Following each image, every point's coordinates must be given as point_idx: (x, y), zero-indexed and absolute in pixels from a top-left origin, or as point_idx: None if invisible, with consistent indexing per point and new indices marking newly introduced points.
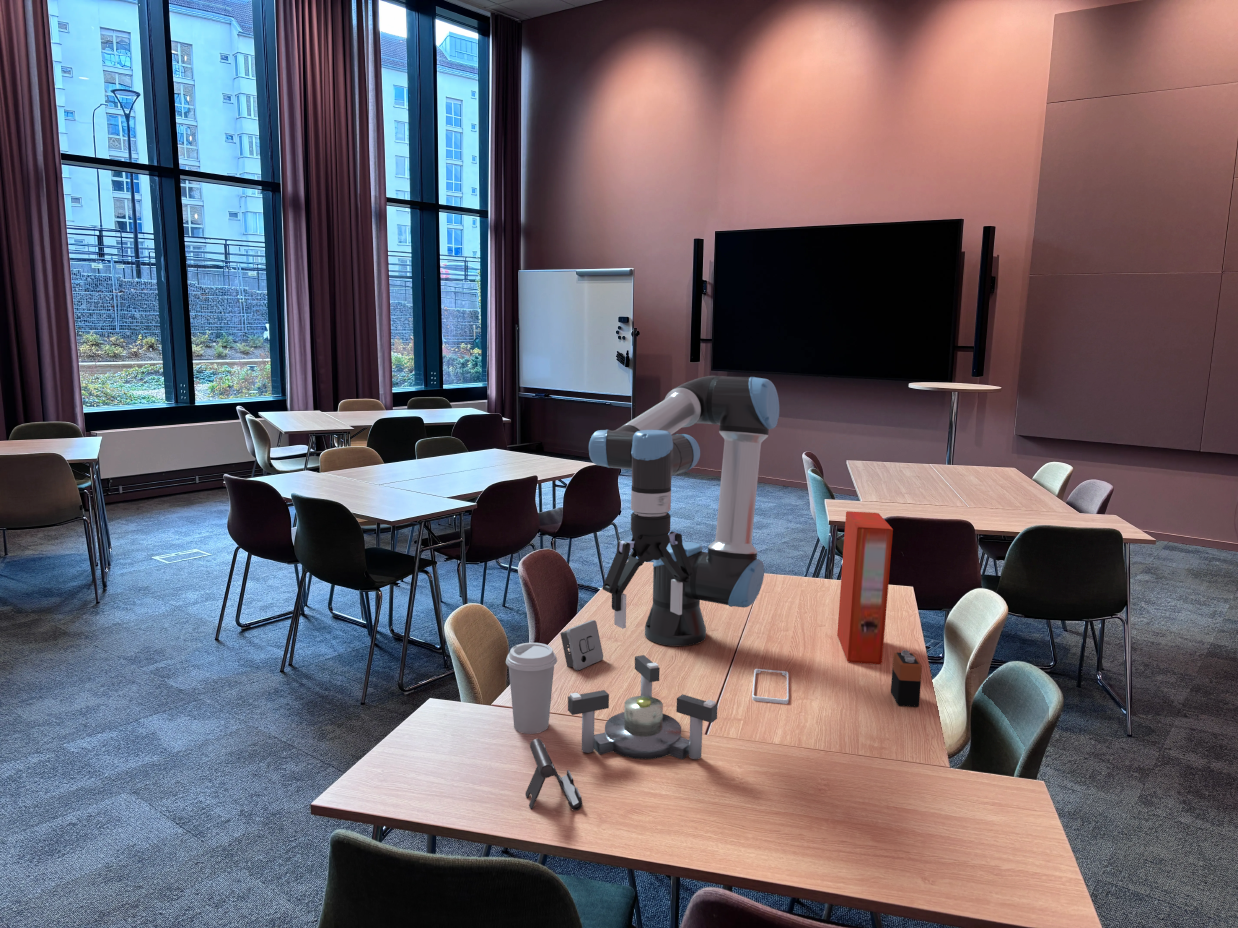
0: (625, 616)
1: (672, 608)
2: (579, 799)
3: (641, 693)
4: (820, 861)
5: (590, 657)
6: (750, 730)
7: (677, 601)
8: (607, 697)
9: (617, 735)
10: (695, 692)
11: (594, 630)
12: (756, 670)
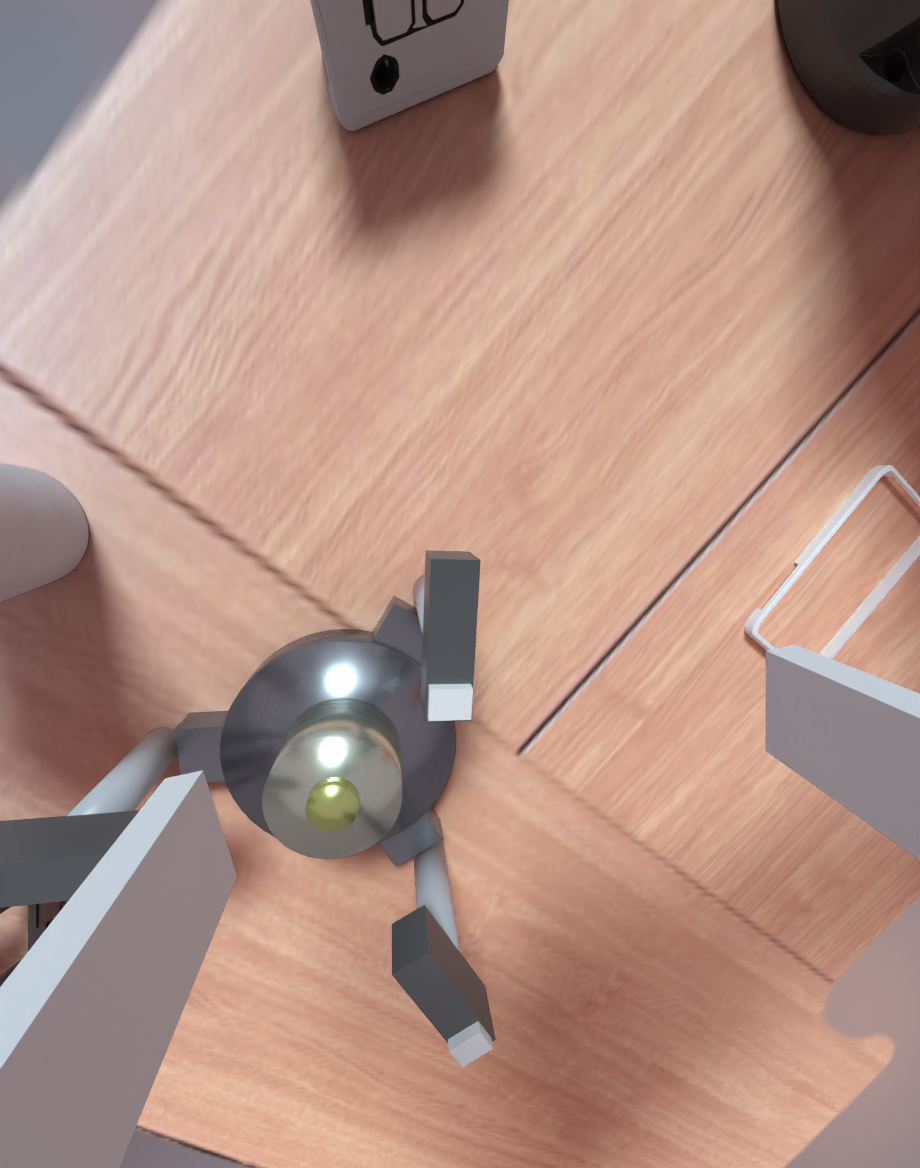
0: (185, 986)
1: (792, 689)
2: None
3: (416, 607)
4: (443, 1165)
5: (426, 65)
6: (627, 770)
7: (874, 801)
8: None
9: (245, 772)
10: (639, 519)
11: None
12: (883, 472)
